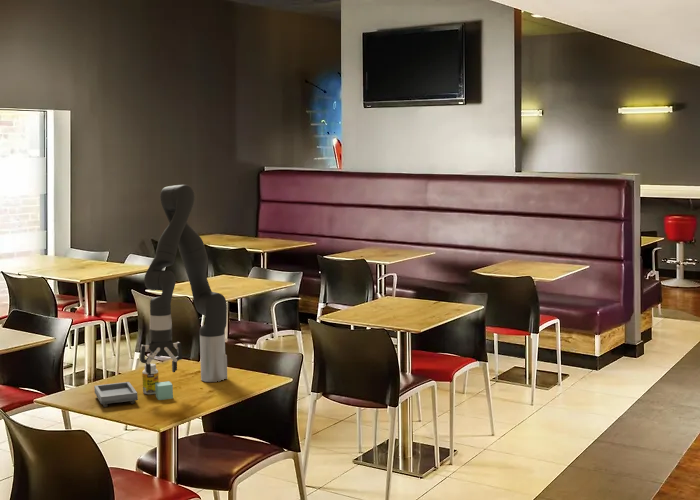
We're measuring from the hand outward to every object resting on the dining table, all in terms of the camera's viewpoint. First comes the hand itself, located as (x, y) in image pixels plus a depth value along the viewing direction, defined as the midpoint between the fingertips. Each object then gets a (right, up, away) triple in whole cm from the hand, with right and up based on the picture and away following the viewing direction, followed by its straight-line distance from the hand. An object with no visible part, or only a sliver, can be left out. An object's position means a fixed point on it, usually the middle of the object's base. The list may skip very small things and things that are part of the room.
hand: (161, 373), depth 307 cm
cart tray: (-15, -9, -2) cm, 18 cm away
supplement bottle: (-5, -8, +7) cm, 12 cm away
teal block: (+1, -9, +1) cm, 9 cm away
